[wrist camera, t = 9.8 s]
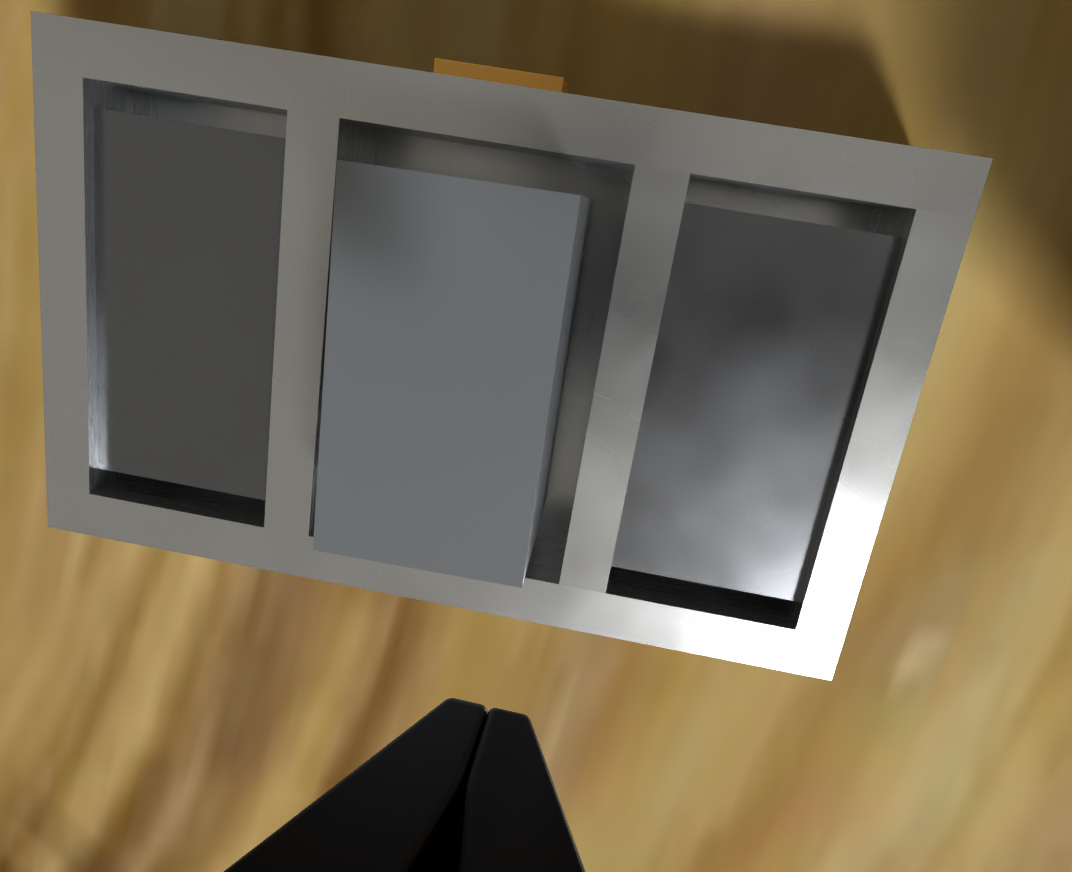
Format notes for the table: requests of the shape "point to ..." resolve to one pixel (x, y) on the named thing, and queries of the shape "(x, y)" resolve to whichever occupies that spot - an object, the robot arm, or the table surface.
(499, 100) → the rack
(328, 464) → the grey upright box
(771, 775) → the table surface
